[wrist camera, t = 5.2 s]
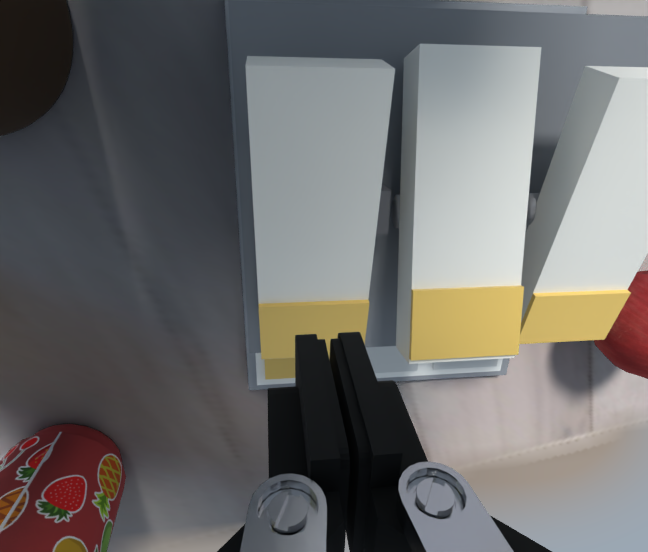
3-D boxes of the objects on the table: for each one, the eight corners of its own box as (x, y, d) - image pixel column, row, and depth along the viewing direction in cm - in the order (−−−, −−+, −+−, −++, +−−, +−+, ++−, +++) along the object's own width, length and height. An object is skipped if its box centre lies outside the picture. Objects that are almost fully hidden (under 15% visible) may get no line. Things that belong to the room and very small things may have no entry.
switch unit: (225, -6, 19) (202, -52, 12) (576, 9, 21) (725, -25, 14) (249, 381, 27) (243, 482, 20) (499, 367, 29) (571, 455, 22)
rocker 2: (395, 66, 16) (422, 41, 13) (498, 68, 16) (545, 45, 13) (388, 337, 18) (410, 366, 15) (480, 333, 18) (517, 360, 15)
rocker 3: (566, 59, 14) (624, 79, 12) (674, 62, 15) (749, 82, 12) (486, 303, 20) (514, 347, 18) (565, 300, 20) (602, 343, 18)
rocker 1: (248, 50, 13) (245, 67, 11) (374, 54, 14) (397, 69, 11) (261, 315, 19) (261, 363, 16) (350, 311, 19) (363, 357, 17)
